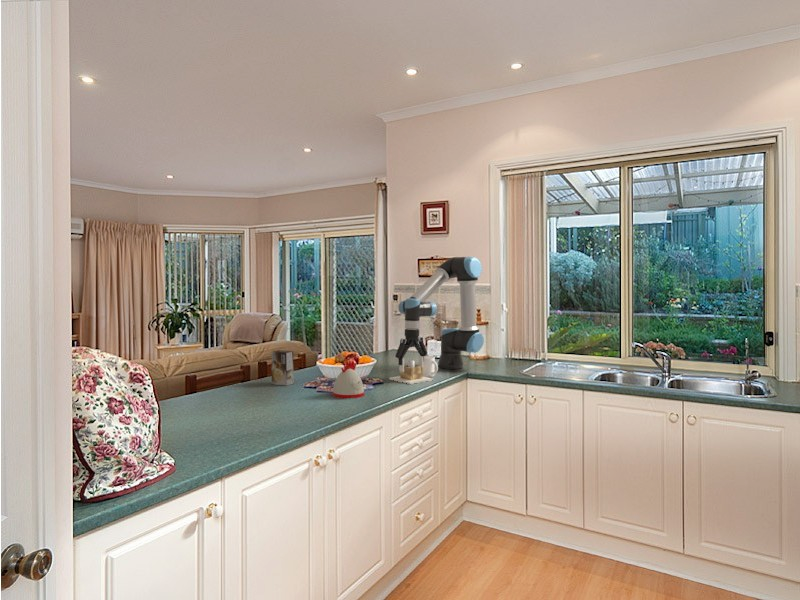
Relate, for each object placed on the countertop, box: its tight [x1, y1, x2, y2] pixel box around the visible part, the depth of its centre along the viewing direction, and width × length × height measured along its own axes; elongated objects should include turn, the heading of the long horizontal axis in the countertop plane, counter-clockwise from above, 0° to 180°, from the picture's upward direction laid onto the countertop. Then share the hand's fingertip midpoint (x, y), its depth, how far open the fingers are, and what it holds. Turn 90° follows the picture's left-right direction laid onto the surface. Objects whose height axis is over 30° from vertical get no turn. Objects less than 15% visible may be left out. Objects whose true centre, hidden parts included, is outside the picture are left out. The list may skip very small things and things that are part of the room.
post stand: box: [388, 359, 434, 385], centre depth 267 cm, size 16×16×10 cm
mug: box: [422, 355, 439, 378], centre depth 277 cm, size 12×8×10 cm
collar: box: [399, 364, 423, 380], centre depth 267 cm, size 8×8×6 cm
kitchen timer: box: [332, 361, 365, 399], centre depth 232 cm, size 14×14×15 cm
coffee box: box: [270, 349, 295, 387], centre depth 253 cm, size 9×6×16 cm
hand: (411, 370), depth 267 cm, fingers open, 13 cm apart
